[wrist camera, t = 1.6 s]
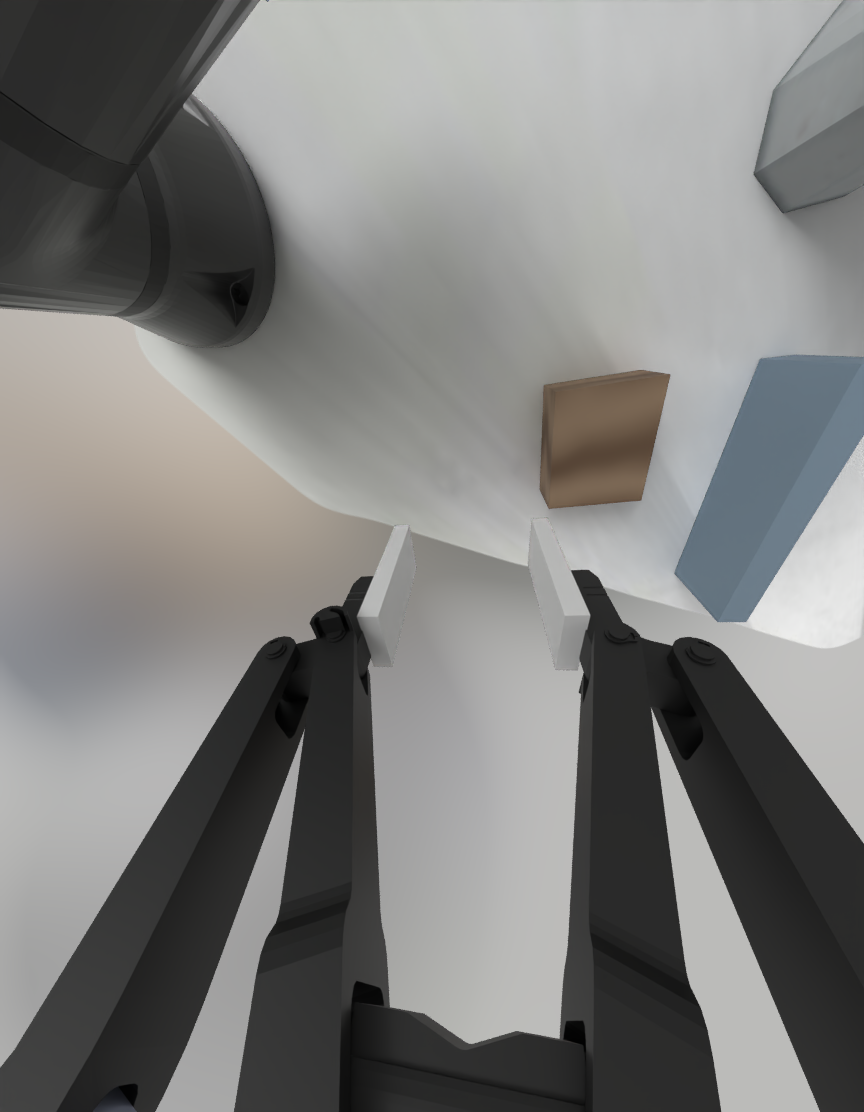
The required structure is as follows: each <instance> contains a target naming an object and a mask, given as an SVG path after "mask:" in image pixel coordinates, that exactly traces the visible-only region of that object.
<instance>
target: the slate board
mask: <svg viewBox="0 0 864 1112" xmlns="http://www.w3.org/2000/svg"><path fill="white" fill-rule="evenodd" d="M863 435H864V357H844V356H815V355H790V356H781V357H772V358H763V359H760V361H759V363H758V366H757V368H756V371H755V373H754V376H753V378H752V381H751V383H750V386H749V388H748V391H747V393H746V396H745V398H744V401H743V403H742V406H741V408H740V411H739V413H738V416H737V418H736V421H735V423H734V426H733V428H732V431H731V433H730V436H729V438H728V441H727V443H726V446H725V448H724V451H723V453H722V456H721V458H720V461H719V463H718V466H717V468H716V471H715V473H714V476H713V478H712V481H711V483H710V486H709V488H708V491H707V493H706V496H705V498H704V501H703V503H702V506H701V508H700V511H699V513H698V516H697V518H696V521H695V523H694V526H693V528H692V531H691V533H690V536H689V538H688V541H687V543H686V546H685V548H684V551H683V553H682V556H681V558H680V561H679V563H678V566H677V568H676V570H675V575H676V576H677V577H678V578H679V579H680V580H681V581H682V582H683V584H684V585H685V586H686V587H687V588H688V589H689V590H690V591H691V593H692V594H693V595H694V596H695V597H696V598H697V599H698V600H699V602H700V603H701V604H702V605H703V606H704V607H705V608H706V610H707V611H708V612H709V613H710V614H711V615H712V616H713V617H714V619H715V620H716V621H717V622H746V621H747V620H748V618H749V617H750V615H751V613H752V612H753V610H754V609H755V607H756V605H757V604H758V602H759V601H760V599H761V598H762V596H763V594H764V593H765V591H766V590H767V588H768V586H769V585H770V583H771V582H772V580H773V578H774V577H775V575H776V574H777V572H778V570H779V569H780V567H781V566H782V564H783V563H784V561H785V559H786V558H787V556H788V555H789V553H790V551H791V550H792V548H793V547H794V545H795V543H796V542H797V540H798V539H799V537H800V535H801V534H802V532H803V531H804V529H805V528H806V526H807V524H808V523H809V521H810V520H811V518H812V516H813V515H814V513H815V512H816V510H817V508H818V507H819V505H820V504H821V502H822V501H823V499H824V497H825V496H826V494H827V493H828V491H829V489H830V488H831V486H832V485H833V483H834V481H835V480H836V478H837V477H838V475H839V473H840V472H841V470H842V469H843V467H844V466H845V464H846V462H847V461H848V459H849V458H850V456H851V454H852V453H853V451H854V450H855V448H856V446H857V445H858V443H859V442H860V440H861V438H862V437H863Z"/></svg>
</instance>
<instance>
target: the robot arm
mask: <svg viewBox="0 0 864 1112" xmlns="http://www.w3.org/2000/svg"><path fill="white" fill-rule="evenodd" d="M259 1H260V0H0V308H3V309H18V310H31V311H45V312H59V313H73V314H88V315H105V316H117V317H119V318H121V319H124V320H126V321H128V322H130V323H132V324H135V325H137V326H139V327H141V328H144V329H146V330H148V331H150V332H153V333H155V334H157V335H159V336H162V337H164V338H166V339H169V340H171V341H174V342H177V343H180V344H184V345H188V346H193V347H226V346H231V345H234V344H237V343H239V342H241V341H243V340H245V339H246V338H248V337H249V336H250V335H251V334H252V333H253V332H254V331H255V330H256V329H257V328H258V327H259V325H260V324H261V322H262V320H263V319H264V317H265V315H266V313H267V310H268V307H269V305H270V301H271V297H272V293H273V287H274V276H275V258H274V246H273V239H272V233H271V228H270V224H269V220H268V216H267V212H266V209H265V206H264V202H263V200H262V197H261V194H260V191H259V189H258V186H257V184H256V181H255V179H254V177H253V175H252V173H251V171H250V169H249V167H248V165H247V163H246V161H245V159H244V157H243V156H242V154H241V152H240V150H239V149H238V147H237V146H236V144H235V142H234V141H233V139H232V138H231V136H230V135H229V134H228V132H227V131H226V130H225V128H224V127H223V126H222V124H221V123H220V122H219V121H218V119H217V118H216V117H215V116H214V115H213V114H212V113H211V112H210V110H209V109H208V108H207V107H206V106H205V105H204V104H203V103H202V102H201V101H199V100H198V99H197V98H196V97H195V96H194V95H193V94H192V92H193V91H194V89H195V88H196V87H197V85H198V84H199V83H200V81H201V80H202V79H203V77H204V76H205V74H206V73H207V72H208V70H209V69H210V68H211V66H212V65H213V63H214V62H215V61H216V59H217V58H218V57H219V55H220V54H221V53H222V51H223V50H224V48H225V47H226V46H227V44H228V43H229V42H230V40H231V39H232V38H233V36H234V35H235V33H236V32H237V31H238V29H239V28H240V27H241V25H242V24H243V23H244V21H245V20H246V18H247V17H248V16H249V14H250V13H251V12H252V10H253V9H254V8H255V6H256V5H257V3H258V2H259ZM266 1H267V2H268V1H269V0H266ZM528 566H529V570H530V574H531V577H532V581H533V585H534V589H535V593H536V596H537V601H538V605H539V609H540V612H541V616H542V620H543V624H544V628H545V632H546V636H547V640H548V643H549V647H550V651H551V655H552V659H553V662H554V666H555V670H578V666H579V662H581V665H582V668H583V671H584V673H583V677H582V681H581V686H580V689H579V693H580V694H581V706H580V725H579V744H578V763H577V783H576V802H575V821H574V840H573V860H572V879H571V899H570V917H569V936H568V949H567V956H566V963H565V969H564V979H563V991H562V1007H561V1025H560V1039H556V1038H550V1037H546V1036H541V1035H535V1034H529V1033H524V1032H519V1031H515V1032H512V1033H509V1034H505V1035H502V1036H499V1037H495V1038H492V1039H488V1040H485V1041H481V1042H478V1043H475V1044H468V1043H466V1042H464V1041H463V1040H461V1039H460V1038H459V1037H457V1036H455V1035H454V1034H453V1033H451V1032H450V1031H448V1030H447V1029H446V1028H444V1027H443V1026H441V1025H440V1024H438V1023H437V1022H435V1021H434V1020H432V1019H431V1018H430V1017H428V1016H427V1015H425V1014H423V1013H416V1012H412V1011H406V1010H401V1009H396V1008H390V1005H389V986H388V967H387V953H386V946H385V939H384V934H383V929H382V923H381V914H380V895H379V894H380V893H379V870H378V847H377V826H376V801H375V779H374V756H373V735H372V711H371V691H370V690H371V689H370V674H369V670H368V665H369V662H370V659H371V660H372V663H373V666H375V667H392V666H393V662H394V658H395V654H396V650H397V646H398V642H399V638H400V634H401V630H402V625H403V621H404V617H405V613H406V609H407V605H408V601H409V596H410V593H411V588H412V584H413V580H414V576H415V572H416V568H417V567H416V561H415V555H414V549H413V543H412V538H411V532H410V526H409V525H395V527H394V529H393V532H392V534H391V536H390V539H389V541H388V544H387V546H386V548H385V551H384V553H383V556H382V558H381V560H380V563H379V565H378V567H377V570H376V572H375V575H374V576H368V577H360V578H359V579H358V580H357V581H356V582H355V583H354V584H353V586H352V588H351V590H350V593H349V594H348V596H347V598H346V600H345V602H344V605H343V606H342V607H340V606H330V607H327V608H324V609H322V610H320V611H319V612H317V613H316V614H315V615H314V616H313V617H312V619H311V621H310V625H311V627H312V629H313V631H314V633H315V635H316V639H313V640H310V641H306V642H302V643H298V644H296V643H295V641H294V639H292V638H291V637H285V636H284V637H278V638H275V639H273V640H271V641H269V642H268V643H267V644H265V645H264V646H263V647H262V648H261V650H260V651H259V652H258V653H257V655H256V657H255V658H254V660H253V661H252V663H251V665H250V666H249V668H248V670H247V671H246V673H245V675H244V676H243V678H242V679H241V681H240V683H239V684H238V686H237V688H236V689H235V691H234V693H233V694H232V696H231V697H230V699H229V701H228V702H227V704H226V705H225V707H224V709H223V710H222V712H221V714H220V715H219V717H218V719H217V720H216V722H215V724H214V725H213V727H212V728H211V730H210V732H209V733H208V735H207V737H206V738H205V740H204V741H203V743H202V745H201V746H200V748H199V750H198V751H197V753H196V754H195V756H194V758H193V759H192V761H191V763H190V765H189V766H188V768H187V769H186V771H185V772H184V774H183V776H182V777H181V779H180V781H179V782H178V784H177V786H176V787H175V789H174V790H173V792H172V794H171V795H170V797H169V799H168V800H167V802H166V803H165V805H164V807H163V808H162V810H161V812H160V813H159V815H158V816H157V819H156V820H155V821H154V823H153V825H152V827H151V828H150V830H149V831H148V833H147V834H146V836H145V838H144V839H143V841H142V843H141V844H140V846H139V848H138V849H137V851H136V853H135V854H134V856H133V857H132V859H131V861H130V862H129V864H128V865H127V867H126V869H125V871H124V872H123V874H122V875H121V877H120V879H119V881H118V882H117V883H116V885H115V887H114V888H113V890H112V892H111V893H110V895H109V897H108V898H107V900H106V902H105V903H104V905H103V906H102V908H101V910H100V911H99V913H98V914H97V916H96V918H95V919H94V921H93V923H92V924H91V926H90V928H89V929H88V931H87V932H86V934H85V936H84V938H83V939H82V941H81V942H80V944H79V945H78V947H77V949H76V951H75V952H74V954H73V955H72V957H71V959H70V960H69V962H68V963H67V965H66V967H65V969H64V970H63V972H62V973H61V975H60V976H59V978H58V980H57V982H56V983H55V985H54V986H53V988H52V990H51V991H50V993H49V994H48V996H47V998H46V999H45V1001H44V1003H43V1004H42V1006H41V1007H40V1009H39V1011H38V1012H37V1014H36V1016H35V1017H34V1019H33V1021H32V1022H31V1024H30V1026H29V1027H28V1029H27V1030H26V1032H25V1034H24V1035H23V1037H22V1039H21V1040H20V1042H19V1044H18V1045H17V1047H16V1049H15V1050H14V1051H13V1053H12V1054H11V1055H10V1056H9V1057H8V1059H7V1060H6V1061H5V1062H4V1064H3V1065H2V1066H1V1068H0V1112H155V1111H156V1109H157V1107H158V1105H159V1103H160V1101H161V1099H162V1097H163V1095H164V1093H165V1091H166V1089H167V1087H168V1085H169V1083H170V1080H171V1078H172V1076H173V1074H174V1072H175V1070H176V1067H177V1065H178V1063H179V1061H180V1059H181V1057H182V1054H183V1052H184V1050H185V1048H186V1046H187V1043H188V1041H189V1038H190V1036H191V1033H192V1031H193V1028H194V1026H195V1023H196V1021H197V1018H198V1016H199V1013H200V1011H201V1008H202V1006H203V1003H204V1001H205V998H206V995H207V993H208V990H209V987H210V985H211V982H212V979H213V976H214V974H215V971H216V968H217V966H218V963H219V960H220V957H221V955H222V952H223V949H224V946H225V943H226V941H227V938H228V936H229V933H230V930H231V927H232V925H233V922H234V919H235V916H236V914H237V911H238V908H239V906H240V903H241V900H242V898H243V895H244V892H245V889H246V887H247V884H248V881H249V878H250V876H251V873H252V870H253V868H254V865H255V862H256V859H257V857H258V854H259V851H260V849H261V846H262V843H263V840H264V837H265V835H266V832H267V830H268V827H269V824H270V821H271V819H272V816H273V813H274V811H275V808H276V805H277V802H278V800H279V797H280V794H281V792H282V789H283V786H284V783H285V781H286V778H287V775H288V773H289V769H290V767H291V764H292V762H293V759H294V756H295V753H296V751H297V748H298V745H299V742H300V740H301V737H302V734H303V732H304V729H305V732H304V739H303V746H302V753H301V761H300V768H299V775H298V782H297V789H296V797H295V804H294V811H293V818H292V826H291V833H290V841H289V848H288V855H287V862H286V869H285V876H284V883H283V891H282V898H281V905H280V910H279V915H278V918H277V921H276V924H275V925H274V927H273V928H272V930H271V931H270V933H269V935H268V936H267V938H266V940H265V943H264V946H263V949H262V952H261V955H260V960H259V964H258V969H257V974H256V979H255V985H254V993H253V998H252V1004H251V1011H250V1016H249V1022H248V1029H247V1035H246V1041H245V1047H244V1054H243V1059H242V1066H241V1072H240V1078H239V1084H238V1090H237V1096H236V1103H235V1109H234V1112H721V1107H720V1100H719V1094H718V1087H717V1081H716V1074H715V1068H714V1062H713V1056H712V1051H711V1046H710V1041H709V1036H708V1030H707V1027H706V1024H705V1020H704V1017H703V1014H702V1010H701V1008H700V1006H699V1004H698V1001H697V1000H696V997H695V995H694V994H693V991H692V989H691V987H690V984H689V981H688V978H687V973H686V967H685V961H684V954H683V946H682V939H681V931H680V924H679V916H678V909H677V902H676V894H675V887H674V878H673V871H672V863H671V856H670V849H669V841H668V833H667V826H666V819H665V811H664V803H663V796H662V789H661V780H660V773H659V765H658V759H657V750H656V743H655V735H654V729H653V720H652V713H651V708H652V710H653V713H654V715H655V717H656V720H657V722H658V725H659V727H660V729H661V732H662V734H663V736H664V739H665V741H666V744H667V746H668V748H669V751H670V753H671V756H672V758H673V760H674V763H675V765H676V768H677V770H678V772H679V775H680V777H681V780H682V782H683V784H684V787H685V789H686V792H687V794H688V796H689V799H690V801H691V803H692V806H693V808H694V811H695V813H696V815H697V818H698V820H699V823H700V825H701V827H702V830H703V832H704V835H705V837H706V839H707V842H708V844H709V846H710V849H711V851H712V854H713V856H714V859H715V861H716V863H717V866H718V868H719V870H720V873H721V875H722V878H723V880H724V883H725V885H726V887H727V890H728V892H729V895H730V897H731V899H732V901H733V904H734V906H735V909H736V911H737V914H738V916H739V918H740V921H741V923H742V925H743V928H744V930H745V933H746V935H747V938H748V940H749V942H750V945H751V947H752V950H753V952H754V954H755V957H756V959H757V961H758V964H759V966H760V969H761V971H762V973H763V976H764V978H765V981H766V983H767V985H768V988H769V990H770V993H771V995H772V997H773V1000H774V1002H775V1005H776V1007H777V1009H778V1012H779V1014H780V1017H781V1019H782V1021H783V1024H784V1026H785V1029H786V1031H787V1033H788V1036H789V1038H790V1041H791V1043H792V1045H793V1048H794V1050H795V1052H796V1055H797V1057H798V1060H799V1062H800V1064H801V1067H802V1069H803V1072H804V1074H805V1076H806V1079H807V1081H808V1084H809V1086H810V1088H811V1091H812V1093H813V1095H814V1098H815V1100H816V1103H817V1105H818V1107H819V1110H820V1112H864V843H863V842H862V841H861V839H860V838H859V837H858V835H857V834H856V832H855V831H854V830H853V828H852V827H851V826H850V824H849V823H848V821H847V820H846V819H845V817H844V816H843V815H842V813H841V812H840V811H839V809H838V808H837V806H836V805H835V804H834V802H833V801H832V799H831V798H830V797H829V795H828V794H827V793H826V791H825V790H824V788H823V787H822V786H821V784H820V783H819V782H818V780H817V779H816V777H815V776H814V775H813V773H812V772H811V771H810V769H809V768H808V767H807V765H806V764H805V762H804V761H803V759H802V758H801V757H800V756H799V754H798V753H797V751H796V750H795V749H794V747H793V746H792V744H791V743H790V742H789V740H788V739H787V737H786V736H785V735H784V733H783V732H782V731H781V729H780V728H779V727H778V725H777V724H776V722H775V721H774V720H773V718H772V717H771V715H770V714H769V713H768V711H767V710H766V709H765V707H764V706H763V704H762V703H761V702H760V700H759V699H758V698H757V696H756V695H755V693H754V692H753V691H752V689H751V688H750V687H749V685H748V684H747V682H746V681H745V680H744V678H743V677H742V676H741V674H740V673H739V671H738V670H737V669H736V667H735V666H734V665H733V663H732V662H731V660H730V659H729V658H728V656H727V655H726V654H725V653H724V652H723V651H722V650H721V649H719V648H718V647H716V646H715V645H713V644H711V643H709V642H707V641H704V640H702V639H698V638H692V637H685V638H679V639H678V640H676V641H675V642H674V644H673V646H670V645H667V644H662V643H658V642H654V641H650V640H647V639H644V638H641V637H640V635H639V634H638V633H637V632H636V631H635V630H634V629H633V628H632V627H630V626H628V625H626V624H624V623H623V622H622V621H621V619H620V617H619V615H618V613H617V611H616V610H615V608H614V606H613V604H612V602H611V600H610V599H609V597H608V596H607V593H606V591H605V589H604V588H603V586H602V584H601V582H600V580H599V578H598V577H597V576H595V575H594V574H593V573H592V572H590V571H589V570H570V568H569V565H568V563H567V561H566V559H565V556H564V554H563V552H562V549H561V547H560V545H559V543H558V540H557V538H556V536H555V534H554V531H553V529H552V527H551V524H550V522H549V520H548V518H533V519H531V530H530V544H529V557H528Z"/></svg>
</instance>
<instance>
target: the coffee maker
mask: <svg viewBox="0 0 864 1112" xmlns="http://www.w3.org/2000/svg"><path fill="white" fill-rule="evenodd" d="M754 175H755V176H756V178H757V179H758V180H759V182H760V183H761V184H762V186H763V187H764V188H765V190H766V191H767V192H768V194H769V195H770V196H771V198H772V199H773V200H774V202H775V203H776V205H777V206H778V207H779V209H780V210H781V211H782V213H785V212H789V211H793V210H796V209H800V208H803V207H807V206H811V205H814V204H818V203H821V202H825V201H828V200H832V199H836V198H839V197H843V196H845V195H847V194H849V193H850V192H852V191H854V190H856V189H857V188H859V187H861V186H862V185H864V0H843V1H842V3H841V4H840V5H839V6H838V8H837V9H836V10H835V12H834V13H833V14H832V16H831V17H830V18H829V19H828V21H827V22H826V23H825V25H824V26H823V27H822V28H821V30H820V31H819V32H818V34H817V35H816V36H815V38H814V39H813V40H812V41H811V43H810V44H809V45H808V47H807V48H806V49H805V50H804V52H803V53H802V54H801V56H800V57H799V58H798V59H797V61H796V62H795V63H794V65H793V66H792V67H791V69H790V70H789V71H788V72H787V74H786V75H785V76H784V78H783V79H782V80H781V81H780V83H779V84H778V85H777V87H776V88H775V89H774V90H773V94H772V99H771V103H770V107H769V112H768V116H767V120H766V124H765V129H764V133H763V137H762V141H761V146H760V150H759V154H758V158H757V163H756V167H755V171H754Z"/></svg>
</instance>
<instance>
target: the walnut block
mask: <svg viewBox="0 0 864 1112" xmlns="http://www.w3.org/2000/svg"><path fill="white" fill-rule="evenodd" d="M669 379H670V374H664V373H657V372H651V371H644V370H638V371H632V372H625V373H619V374H612V375H606V376H599V377H593V378H587V379H580V380H574V381H567V382H561V383H555V384H548V385H544V394H543V419H542V445H541V471H540V491H541V493H542V495H543V497H544V500H545V502H546V504H547V506H548V508H549V509H552V508H563V507H574V506H585V505H596V504H607V503H618V502H629V501H640V500H641V499H642V495H643V490H644V486H645V482H646V477H647V473H648V469H649V465H650V460H651V456H652V452H653V447H654V443H655V439H656V435H657V430H658V426H659V422H660V417H661V413H662V409H663V404H664V400H665V396H666V392H667V387H668V383H669Z"/></svg>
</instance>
